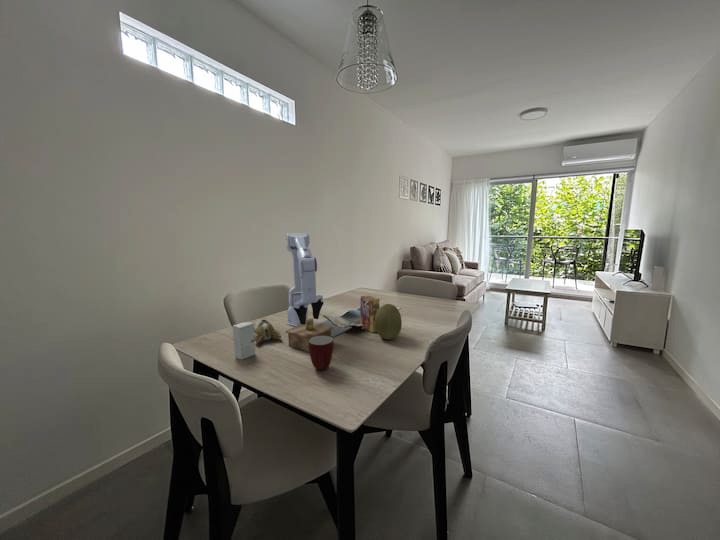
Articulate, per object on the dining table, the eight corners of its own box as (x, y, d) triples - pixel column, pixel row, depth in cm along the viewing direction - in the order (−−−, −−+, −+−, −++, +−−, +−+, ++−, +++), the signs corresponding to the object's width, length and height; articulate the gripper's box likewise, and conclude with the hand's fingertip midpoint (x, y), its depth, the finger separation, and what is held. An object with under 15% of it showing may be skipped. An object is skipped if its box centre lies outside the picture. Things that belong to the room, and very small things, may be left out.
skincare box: (241, 360, 104) (238, 328, 102) (234, 357, 106) (231, 325, 104) (256, 354, 109) (254, 323, 107) (249, 351, 111) (247, 320, 109)
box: (288, 345, 116) (288, 332, 115) (309, 336, 126) (308, 323, 125) (311, 352, 110) (310, 338, 109) (331, 341, 120) (330, 329, 119)
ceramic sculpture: (271, 312, 131) (282, 323, 119) (272, 330, 133) (283, 343, 120) (246, 316, 125) (255, 329, 113) (248, 335, 127) (256, 349, 115)
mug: (337, 376, 93) (336, 346, 91) (311, 379, 91) (310, 349, 89) (331, 361, 103) (330, 334, 101) (308, 364, 101) (307, 336, 99)
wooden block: (286, 332, 115) (285, 321, 114) (308, 323, 126) (308, 312, 125) (311, 339, 108) (310, 327, 107) (332, 329, 119) (332, 317, 118)
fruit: (380, 345, 116) (380, 309, 114) (370, 335, 127) (370, 302, 125) (406, 341, 120) (406, 306, 118) (394, 332, 131) (394, 299, 128)
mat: (305, 330, 133) (305, 329, 133) (327, 320, 146) (327, 319, 146) (333, 337, 124) (333, 336, 124) (354, 326, 137) (354, 325, 137)
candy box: (379, 330, 132) (380, 298, 130) (372, 333, 129) (372, 299, 127) (367, 325, 139) (367, 294, 136) (360, 327, 136) (359, 296, 134)
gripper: (303, 293, 106) (304, 328, 108) (328, 286, 118) (328, 318, 120) (289, 290, 110) (290, 325, 112) (315, 284, 122) (315, 315, 124)
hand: (309, 321), depth 116 cm, fingers open, 7 cm apart
